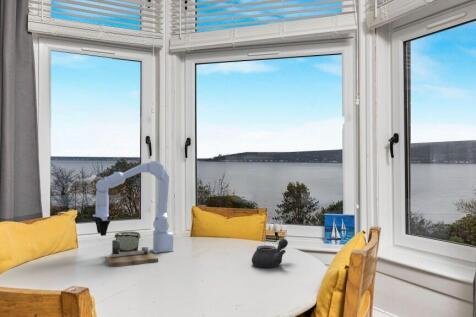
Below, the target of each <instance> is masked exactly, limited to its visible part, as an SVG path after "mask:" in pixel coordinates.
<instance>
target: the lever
mask: <svg viewBox="0 0 476 317" xmlns="http://www.w3.org/2000/svg"><path fill="white" fill-rule="evenodd" d="M111 242H112V243H111V253H110V257H118V256H128V255H137V254H147V253H150V250H149V247H148V246H143V247H141V249H140V250H139V249H138V251H128V252H120V240H116V239H113V240H111Z"/></svg>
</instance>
